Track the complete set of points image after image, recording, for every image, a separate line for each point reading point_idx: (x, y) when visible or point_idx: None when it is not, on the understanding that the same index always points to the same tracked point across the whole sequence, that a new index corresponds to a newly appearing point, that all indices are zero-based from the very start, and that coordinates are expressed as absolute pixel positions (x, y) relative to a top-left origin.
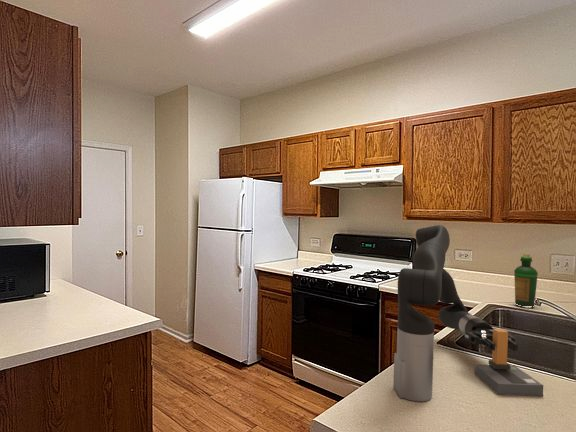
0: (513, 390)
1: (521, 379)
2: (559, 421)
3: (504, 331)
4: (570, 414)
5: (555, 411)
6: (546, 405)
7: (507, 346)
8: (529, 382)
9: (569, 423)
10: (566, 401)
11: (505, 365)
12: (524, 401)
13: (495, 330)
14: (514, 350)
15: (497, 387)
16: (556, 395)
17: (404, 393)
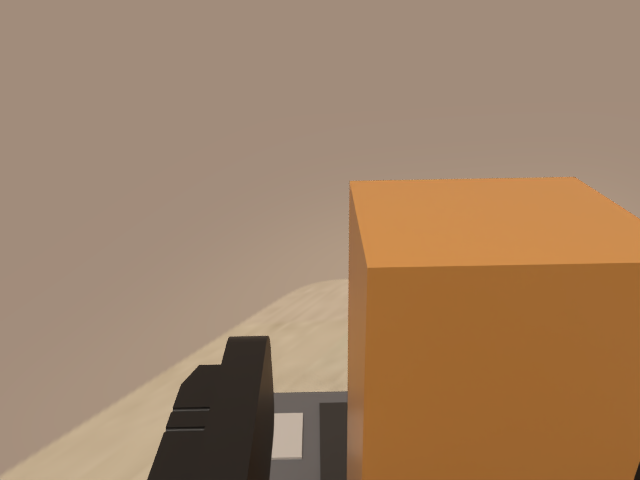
0: None
1: (321, 447)
2: (325, 298)
3: (420, 185)
4: (236, 329)
5: (284, 340)
6: (287, 373)
7: (348, 426)
8: (289, 414)
9: (296, 292)
10: (132, 409)
11: None
12: None
13: (622, 217)
14: (272, 413)
15: None
16: (117, 465)
17: None
